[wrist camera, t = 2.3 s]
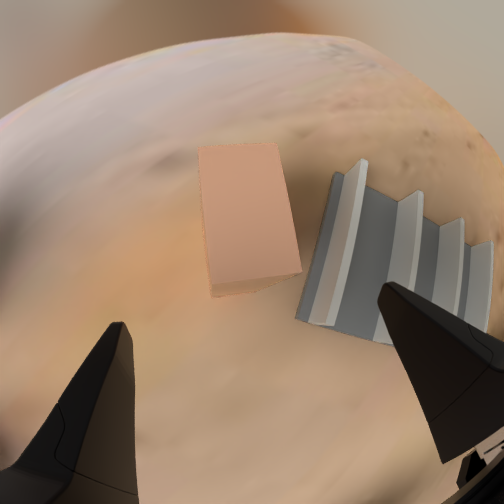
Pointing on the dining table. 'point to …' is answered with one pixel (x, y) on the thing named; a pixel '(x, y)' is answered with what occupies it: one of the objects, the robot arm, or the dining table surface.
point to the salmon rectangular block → (246, 218)
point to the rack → (389, 261)
